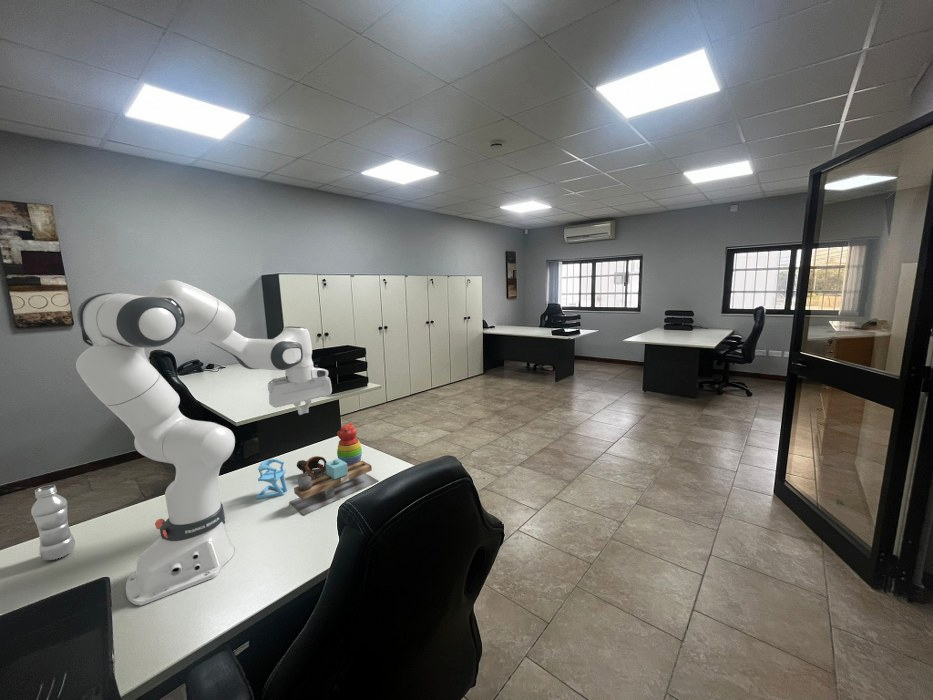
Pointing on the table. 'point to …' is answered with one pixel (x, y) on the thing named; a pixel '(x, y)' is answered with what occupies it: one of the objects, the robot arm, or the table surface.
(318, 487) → the brown wooden bench
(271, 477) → the chair
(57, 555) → the plastic bottle
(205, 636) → the table surface
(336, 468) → the block
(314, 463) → the pottery mug
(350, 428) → the stacking bear
